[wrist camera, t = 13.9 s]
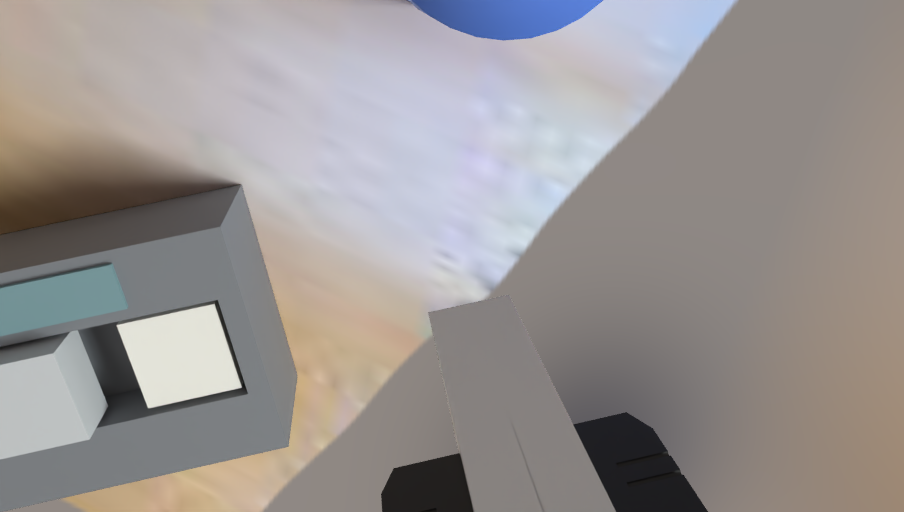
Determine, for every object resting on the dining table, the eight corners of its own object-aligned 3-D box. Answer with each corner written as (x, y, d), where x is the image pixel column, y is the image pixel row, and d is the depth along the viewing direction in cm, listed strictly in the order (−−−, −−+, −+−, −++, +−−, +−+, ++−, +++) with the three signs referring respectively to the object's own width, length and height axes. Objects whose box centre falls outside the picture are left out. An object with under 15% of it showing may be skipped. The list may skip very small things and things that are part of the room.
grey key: (15, 426, 42) (-10, 461, 39) (-22, 345, 40) (-52, 376, 37) (108, 406, 42) (89, 439, 39) (75, 325, 40) (53, 353, 37)
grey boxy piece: (-63, 455, 49) (-141, 547, 41) (-159, 268, 44) (-268, 331, 36) (297, 375, 50) (288, 449, 42) (241, 184, 45) (219, 228, 37)
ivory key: (161, 378, 44) (148, 408, 41) (132, 300, 42) (116, 325, 39) (248, 359, 44) (241, 387, 41) (224, 280, 42) (214, 303, 39)
